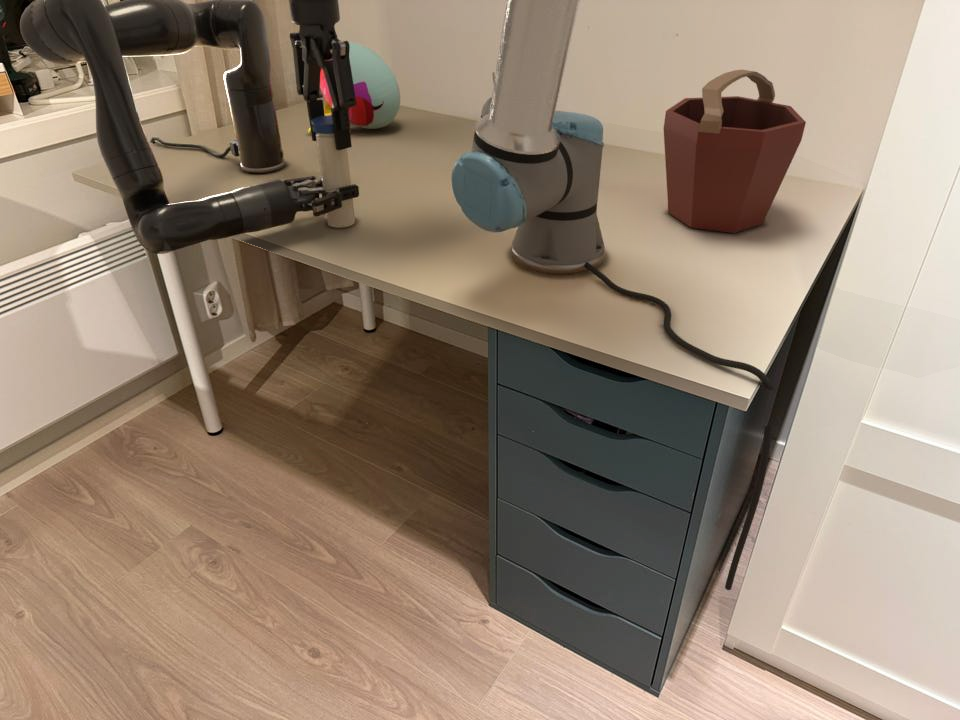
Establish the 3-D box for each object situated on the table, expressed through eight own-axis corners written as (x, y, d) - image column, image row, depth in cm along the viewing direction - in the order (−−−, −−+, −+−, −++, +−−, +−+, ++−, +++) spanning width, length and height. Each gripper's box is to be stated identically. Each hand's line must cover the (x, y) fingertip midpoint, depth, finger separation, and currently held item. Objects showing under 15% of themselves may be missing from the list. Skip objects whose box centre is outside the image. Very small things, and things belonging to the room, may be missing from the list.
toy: (277, 110, 181) (275, 51, 163) (352, 72, 191) (358, 13, 173) (336, 175, 178) (341, 122, 160) (410, 134, 188) (421, 79, 170)
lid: (351, 131, 120) (350, 121, 119) (318, 136, 117) (317, 126, 116) (340, 122, 124) (339, 113, 123) (308, 127, 122) (306, 118, 121)
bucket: (710, 250, 119) (740, 96, 105) (622, 208, 134) (638, 69, 120) (804, 218, 129) (843, 75, 115) (713, 183, 145) (736, 53, 131)
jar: (360, 221, 130) (350, 125, 120) (338, 230, 127) (325, 131, 117) (344, 214, 133) (332, 119, 123) (322, 222, 130) (308, 125, 120)
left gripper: (273, 198, 113) (367, 176, 121) (241, 174, 122) (330, 155, 131) (281, 241, 117) (371, 217, 125) (249, 214, 127) (335, 193, 135)
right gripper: (370, -2, 105) (383, 151, 118) (299, -13, 117) (318, 127, 130) (328, 3, 101) (346, 161, 114) (259, -8, 113) (282, 136, 126)
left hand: (350, 185), depth 128 cm, fingers closed on jar, 5 cm apart
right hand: (331, 143), depth 122 cm, fingers open, 7 cm apart
